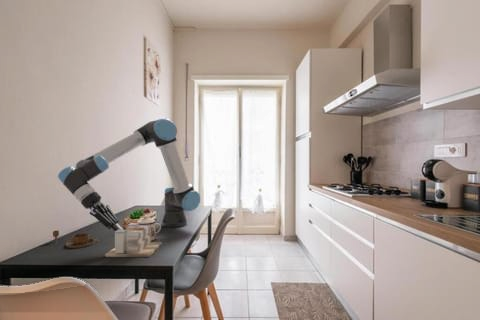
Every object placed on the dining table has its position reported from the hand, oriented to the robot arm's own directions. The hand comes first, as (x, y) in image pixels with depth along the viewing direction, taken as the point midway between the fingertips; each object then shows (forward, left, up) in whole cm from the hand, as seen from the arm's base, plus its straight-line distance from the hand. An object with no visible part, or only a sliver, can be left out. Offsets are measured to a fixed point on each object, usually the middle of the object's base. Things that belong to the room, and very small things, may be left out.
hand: (124, 236), depth 121 cm
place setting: (-11, -27, -7) cm, 30 cm away
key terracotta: (0, +3, -5) cm, 6 cm away
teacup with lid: (-18, +5, -6) cm, 20 cm away
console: (0, +5, -6) cm, 8 cm away
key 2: (-7, +1, -5) cm, 8 cm away
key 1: (+6, +1, -5) cm, 8 cm away
